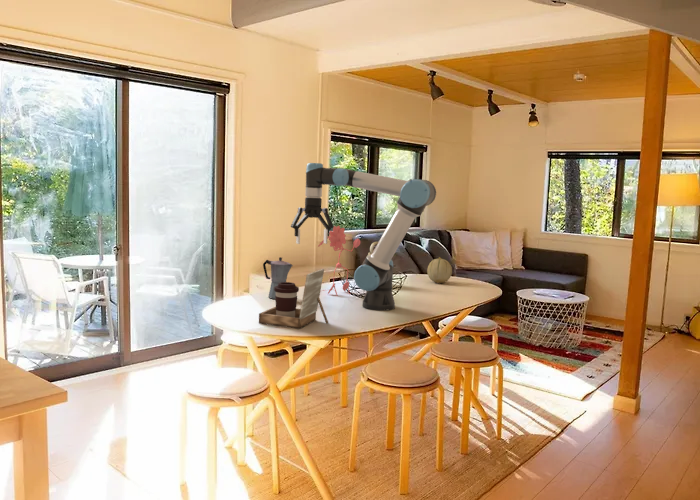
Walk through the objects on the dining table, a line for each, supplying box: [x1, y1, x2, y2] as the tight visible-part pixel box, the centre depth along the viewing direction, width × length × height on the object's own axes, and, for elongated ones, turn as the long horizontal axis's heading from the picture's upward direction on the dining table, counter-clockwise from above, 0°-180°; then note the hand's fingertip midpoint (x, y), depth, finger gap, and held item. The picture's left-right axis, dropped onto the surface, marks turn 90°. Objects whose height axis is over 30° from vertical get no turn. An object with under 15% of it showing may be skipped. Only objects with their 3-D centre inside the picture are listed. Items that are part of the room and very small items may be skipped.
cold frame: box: [258, 268, 329, 330], centre depth 236 cm, size 24×16×22 cm, turn 71°
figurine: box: [317, 225, 361, 297], centre depth 301 cm, size 15×26×35 cm, turn 134°
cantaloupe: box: [426, 256, 453, 284], centre depth 345 cm, size 15×15×15 cm
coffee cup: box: [274, 281, 300, 318], centre depth 238 cm, size 10×10×15 cm
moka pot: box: [262, 257, 294, 300], centre depth 283 cm, size 10×15×20 cm, turn 78°
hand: (311, 243), depth 268 cm, fingers open, 13 cm apart
